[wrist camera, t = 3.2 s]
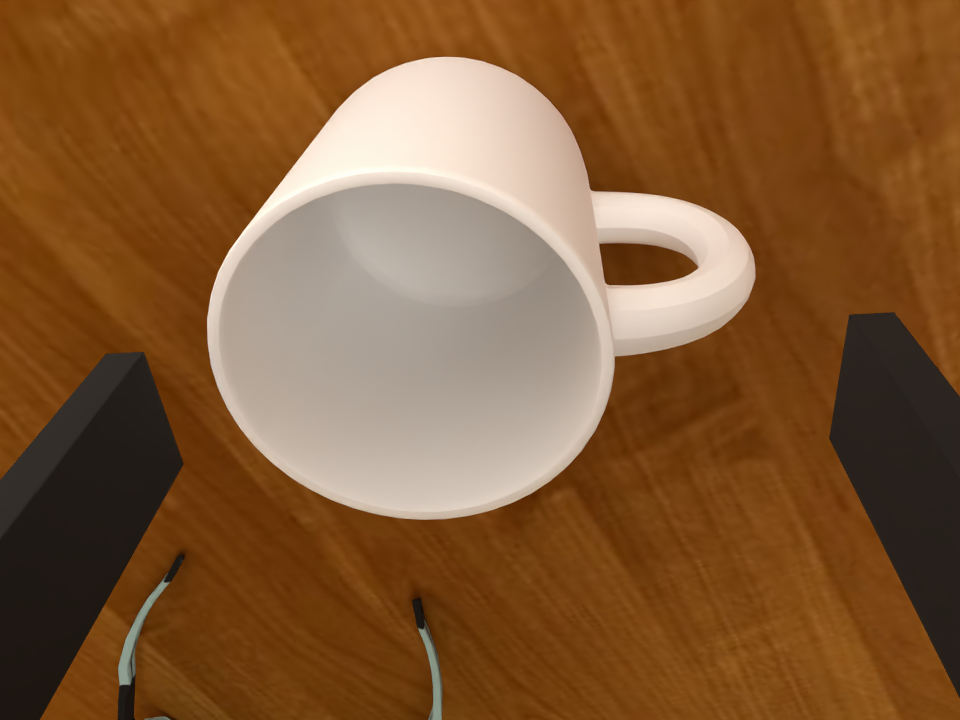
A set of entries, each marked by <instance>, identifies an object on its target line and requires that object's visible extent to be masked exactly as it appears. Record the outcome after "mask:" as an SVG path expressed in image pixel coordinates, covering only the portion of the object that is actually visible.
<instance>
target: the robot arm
mask: <svg viewBox="0 0 960 720" xmlns="http://www.w3.org/2000/svg"><path fill="white" fill-rule="evenodd" d="M829 439H830V441H831V443H832V445H833V447H834V449H835V451H836V453H837V455H838V457H839V459H840V461H841V463H842V465H843V467H844V469H845V471H846V473H847V475H848V477H849V479H850V481H851V483H852V485H853V487H854V489H855V491H856V493H857V495H858V497H859V499H860V501H861V503H862V505H863V507H864V509H865V511H866V513H867V515H868V517H869V518H870V520H871V522H872V524H873V526H874V528H875V530H876V532H877V534H878V536H879V538H880V540H881V542H882V544H883V546H884V548H885V550H886V552H887V554H888V556H889V558H890V560H891V562H892V564H893V566H894V568H895V570H896V572H897V574H898V576H899V578H900V580H901V582H902V584H903V586H904V588H905V590H906V592H907V594H908V596H909V598H910V600H911V602H912V604H913V606H914V608H915V610H916V612H917V614H918V616H919V618H920V620H921V622H922V624H923V626H924V628H925V630H926V632H927V634H928V636H929V638H930V640H931V642H932V644H933V646H934V648H935V650H936V652H937V654H938V656H939V658H940V660H941V662H942V664H943V666H944V668H945V670H946V672H947V674H948V676H949V678H950V680H951V682H952V684H953V686H954V688H955V690H956V692H957V694H958V696H959V698H960V397H959V395H958V394H957V393H956V391H955V390H954V389H953V388H952V386H951V385H950V384H949V382H948V381H947V380H946V379H945V377H944V376H943V375H942V373H941V372H940V371H939V370H938V368H937V367H936V366H935V364H934V363H933V362H932V361H931V359H930V358H929V357H928V355H927V354H926V353H925V352H924V350H923V349H922V348H921V346H920V345H919V344H918V343H917V341H916V340H915V339H914V337H913V336H912V335H911V334H910V332H909V331H908V330H907V328H906V327H905V326H904V325H903V323H902V322H901V321H900V319H899V318H898V317H897V316H896V314H895V313H894V312H892V313H873V314H854V315H849V320H848V326H847V332H846V338H845V344H844V351H843V357H842V363H841V369H840V375H839V381H838V388H837V394H836V400H835V406H834V412H833V419H832V425H831V431H830V437H829ZM182 466H183V461H182V458H181V455H180V453H179V450H178V447H177V444H176V441H175V438H174V436H173V433H172V430H171V427H170V424H169V421H168V419H167V416H166V413H165V410H164V407H163V405H162V402H161V399H160V396H159V393H158V390H157V388H156V385H155V382H154V379H153V376H152V374H151V371H150V368H149V365H148V362H147V359H146V357H145V354H144V352H134V353H115V354H106V355H105V356H104V357H103V358H102V359H101V361H100V362H99V363H98V364H97V365H96V366H95V368H94V369H93V370H92V371H91V372H90V374H89V375H88V376H87V377H86V378H85V380H84V381H83V382H82V383H81V384H80V386H79V387H78V388H77V389H76V390H75V392H74V393H73V394H72V395H71V396H70V398H69V399H68V400H67V401H66V402H65V404H64V405H63V406H62V407H61V408H60V409H59V411H58V412H57V413H56V414H55V415H54V417H53V418H52V419H51V420H50V421H49V423H48V424H47V425H46V426H45V427H44V429H43V430H42V431H41V432H40V433H39V435H38V436H37V437H36V438H35V439H34V441H33V442H32V443H31V444H30V445H29V447H28V448H27V449H26V450H25V451H24V452H23V454H22V455H21V456H20V457H19V458H18V460H17V461H16V462H15V463H14V464H13V466H12V467H11V468H10V469H9V470H8V472H7V473H6V474H5V475H4V476H3V478H2V479H1V480H0V720H40V718H41V716H42V715H43V713H44V711H45V709H46V708H47V706H48V704H49V702H50V700H51V699H52V697H53V695H54V693H55V692H56V690H57V688H58V686H59V684H60V683H61V681H62V679H63V677H64V676H65V674H66V672H67V670H68V668H69V667H70V665H71V663H72V661H73V660H74V658H75V656H76V654H77V652H78V651H79V649H80V647H81V645H82V644H83V642H84V640H85V638H86V636H87V635H88V633H89V631H90V629H91V628H92V626H93V624H94V622H95V620H96V619H97V617H98V615H99V613H100V612H101V610H102V608H103V606H104V604H105V603H106V601H107V599H108V597H109V596H110V594H111V592H112V590H113V588H114V587H115V585H116V583H117V581H118V580H119V578H120V576H121V574H122V572H123V571H124V569H125V567H126V565H127V564H128V562H129V560H130V558H131V557H132V555H133V553H134V551H135V549H136V548H137V546H138V544H139V542H140V541H141V539H142V537H143V535H144V533H145V532H146V530H147V528H148V526H149V525H150V523H151V521H152V519H153V517H154V516H155V514H156V512H157V510H158V509H159V507H160V505H161V503H162V501H163V500H164V498H165V496H166V494H167V493H168V491H169V489H170V487H171V485H172V484H173V482H174V480H175V478H176V477H177V475H178V473H179V471H180V469H181V468H182Z"/></svg>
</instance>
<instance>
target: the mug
mask: <svg viewBox="0 0 960 720" xmlns="http://www.w3.org/2000/svg"><path fill="white" fill-rule="evenodd" d="M603 243H634V244H646V245H654V246H659V247H664V248H668V249H671V250H674V251H677V252H680V253H682V254H684V255H686V256H687V257H689V258H690V259H691V260H693V261H694V262H695V263H696V265H697V266H698V267H699V268H698V269H697V270H695V271H694V272H693V273H691V274H690V275H687V276H685V277H683V278H680V279H676V280H673V281H668V282H662V283H656V284H647V285H628V286H623V285H608V284H606V283H605V280H604V275H603V268H602V261H601V254H600V248H599V244H603ZM754 280H755V263H754V256H753V254H752V251H751V249H750V246H749V245H748V243H747V241H746V240H745V238H744V237H743V236H742V234H741V233H740V232H739V231H738V229H737V228H736V227H734V226H733V225H732V224H731V223H730V222H728V221H727V220H725V219H724V218H722V217H720V216H719V215H717V214H715V213H713V212H712V211H710V210H708V209H705V208H703V207H701V206H698V205H696V204H693V203H689V202H686V201H683V200H679V199H675V198H670V197H665V196H658V195H651V194H642V193H628V192H597V191H592V190H590V187H589V181H588V175H587V171H586V168H585V165H584V161H583V158H582V155H581V152H580V149H579V146H578V144H577V142H576V140H575V137H574V135H573V133H572V131H571V129H570V127H569V126H568V124H567V123H566V121H565V120H564V118H563V116H562V115H561V114H560V113H559V111H558V110H557V109H556V108H555V107H554V106H553V104H552V103H551V102H550V101H549V100H548V99H547V98H546V97H545V96H544V95H543V94H541V93H540V92H539V91H538V90H537V89H536V88H535V87H534V86H532V85H531V84H529V83H528V82H526V81H525V80H523V79H522V78H520V77H519V76H517V75H515V74H513V73H511V72H509V71H507V70H505V69H503V68H501V67H498V66H495V65H492V64H489V63H486V62H483V61H478V60H473V59H468V58H459V57H436V58H426V59H421V60H417V61H412V62H408V63H405V64H402V65H399V66H397V67H394V68H391V69H389V70H387V71H385V72H383V73H381V74H379V75H378V76H376V77H374V78H372V79H371V80H369V81H368V82H367V83H365V84H364V85H363V86H361V87H360V88H359V89H357V90H356V91H355V92H354V93H353V94H352V95H351V96H350V97H349V98H348V99H347V100H346V101H345V102H344V103H343V104H342V105H341V106H340V107H339V108H338V109H337V110H336V112H335V113H334V114H333V115H332V117H331V118H330V119H329V121H328V122H327V123H326V125H325V126H324V127H323V128H322V130H321V131H320V132H319V134H318V135H317V136H316V138H315V139H314V140H313V141H312V143H311V144H310V145H309V147H308V148H307V149H306V151H305V152H304V153H303V154H302V156H301V157H300V158H299V160H298V161H297V162H296V164H295V165H294V166H293V167H292V169H291V170H290V171H289V173H288V174H287V175H286V177H285V178H284V179H283V181H282V182H281V183H280V184H279V186H278V187H277V188H276V190H275V191H274V192H273V194H272V195H271V196H270V197H269V199H268V200H267V201H266V203H265V204H264V205H263V207H262V208H261V209H260V210H259V212H258V213H257V214H256V216H255V217H254V218H253V220H252V221H251V222H250V223H249V225H248V226H247V227H246V229H245V230H244V231H243V233H242V234H241V235H240V237H239V238H238V239H237V241H236V242H235V244H234V245H233V246H232V248H231V249H230V250H229V252H228V254H227V256H226V258H225V260H224V262H223V264H222V266H221V268H220V270H219V272H218V274H217V277H216V280H215V283H214V287H213V290H212V293H211V297H210V304H209V310H208V317H207V341H208V349H209V355H210V362H211V367H212V370H213V374H214V377H215V380H216V383H217V386H218V389H219V391H220V393H221V395H222V398H223V400H224V402H225V404H226V406H227V408H228V410H229V412H230V413H231V415H232V416H233V418H234V420H235V421H236V423H237V424H238V426H239V428H240V429H241V430H242V431H243V433H244V434H245V435H246V436H247V437H248V439H249V440H250V441H251V442H252V444H253V445H254V446H255V447H256V448H257V449H258V450H259V451H260V452H261V453H262V454H263V455H264V456H265V457H266V458H267V459H268V460H269V461H270V462H271V463H273V464H274V465H275V466H277V467H278V468H279V469H280V470H282V471H283V472H284V473H285V474H287V475H288V476H289V477H291V478H292V479H294V480H296V481H297V482H299V483H300V484H302V485H304V486H305V487H307V488H308V489H310V490H312V491H314V492H316V493H318V494H320V495H322V496H324V497H326V498H328V499H330V500H333V501H335V502H338V503H341V504H343V505H346V506H349V507H351V508H355V509H358V510H362V511H366V512H370V513H373V514H378V515H384V516H390V517H396V518H406V519H420V520H427V519H449V518H456V517H464V516H470V515H474V514H478V513H482V512H487V511H491V510H493V509H496V508H499V507H502V506H505V505H507V504H510V503H513V502H515V501H517V500H519V499H521V498H523V497H525V496H527V495H529V494H531V493H533V492H534V491H536V490H537V489H539V488H540V487H542V486H543V485H545V484H546V483H548V482H550V481H551V480H552V479H553V478H554V477H556V476H557V475H558V474H559V473H560V472H561V471H563V470H564V469H565V468H566V467H567V466H568V465H569V464H570V463H571V462H572V461H573V460H574V459H575V457H576V456H577V455H578V454H579V453H580V452H581V451H582V449H583V448H584V446H585V445H586V444H587V442H588V441H589V439H590V438H591V436H592V435H593V433H594V432H595V430H596V428H597V426H598V424H599V422H600V419H601V417H602V415H603V413H604V411H605V408H606V405H607V402H608V399H609V395H610V392H611V389H612V382H613V375H614V368H615V356H627V355H635V354H643V353H648V352H654V351H660V350H665V349H669V348H673V347H676V346H680V345H684V344H687V343H690V342H692V341H695V340H697V339H700V338H703V337H705V336H707V335H709V334H710V333H712V332H714V331H716V330H718V329H719V328H721V327H722V326H723V325H724V324H726V323H727V322H728V321H729V320H730V319H732V318H733V317H734V316H735V315H736V314H737V313H738V312H739V311H740V309H741V308H742V307H743V305H744V304H745V303H746V301H747V300H748V298H749V295H750V292H751V290H752V287H753V284H754Z"/></svg>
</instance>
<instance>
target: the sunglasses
mask: <svg viewBox="0 0 960 720" xmlns="http://www.w3.org/2000/svg"><path fill="white" fill-rule="evenodd" d="M184 558H185V557H184V556H182V555H180V554H179V555H178V557H177V558H176V560H175V562H174V564H173V565H172V567H171V569H170V571H169V572H168V573H167V575H166V576H165V577H164V579H163V580H162V581H161V582H160V584H159V585H158V586H157V588H156V589H155V590H154V591H153V592H152V593H151V595H150V596H149V597H148V599H147V600H146V602H145V603H144V605H143V607H142V608H141V610H140V612H139V613H138V615H137V617H136V619H135V621H134V623H133V625H132V626H131V629H130V632H129V634H128V636H127V638H126V641H125V644H124V648H123V652H122V655H121V659H120V663H119V666H118V671H119V682H120V687H119V699H118V720H135V718H134V697H135V676H136V672H135V666H136V665H135V648H136V644H137V641H138V637H139V634H140V631H141V628H142V626H143V623H144V621H145V619H146V616H147V614H148V612H149V610H150V608H151V607H152V605H153V603H154V602H155V601H156V599H157V598H158V596H159V595H160V594H161V592H163V590H164V589H165V588H166V586H167V585H168V584H169V583H170V582H171V581H172V579H173V578H174V576H175V574H176V573H177V571H178V569H179V567H180V565H181V563H182V561H183V560H184ZM412 602H413V607H414V613H415V618H416V624H417V627H418V629H419V632H420V634H421V637H422V639H423V641H424V644H425V647H426V649H427V653H428V658H429V662H430V666H431V673H432V682H433V707H432V710H431V713H430V716H429V719H428V720H441V719H442V678H441V672H440V665H439V659H438V653H437V650H436V647H435V644H434V641H433V639H432V636H431V633H430V630H429V628H428V625H427V622H426V619H425V616H424V612H423V607H422V603H421V598H420V599H414V600H413V601H412ZM144 720H170V719H168V718H167V717H165V716H164V717H154V718H147V719H144Z"/></svg>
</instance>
